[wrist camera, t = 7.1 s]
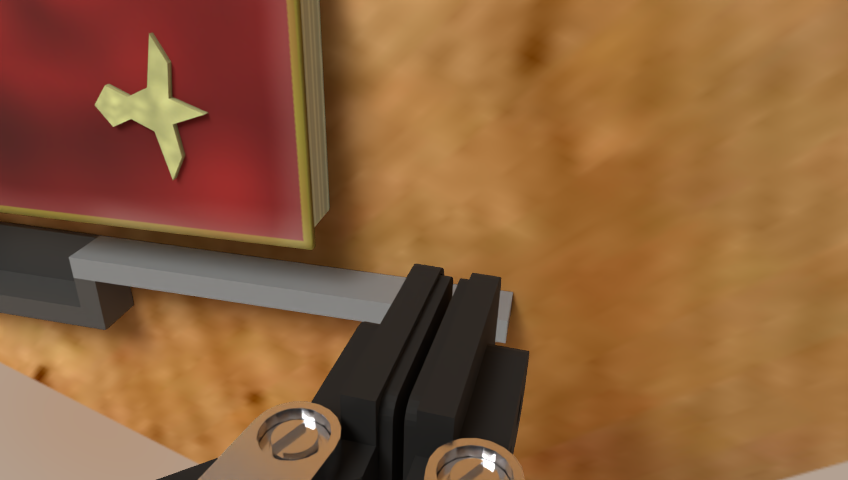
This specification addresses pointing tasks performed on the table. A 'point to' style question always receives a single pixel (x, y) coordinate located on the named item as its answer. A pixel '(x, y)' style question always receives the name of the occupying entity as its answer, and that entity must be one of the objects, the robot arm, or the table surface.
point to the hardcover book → (166, 116)
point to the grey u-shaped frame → (176, 279)
